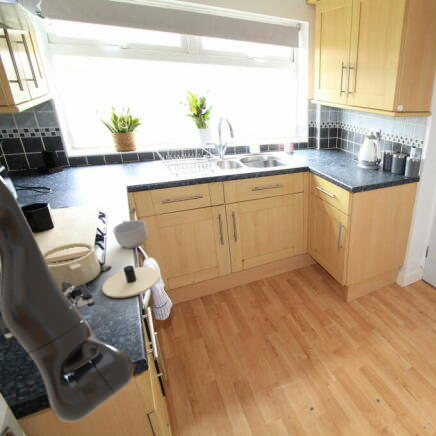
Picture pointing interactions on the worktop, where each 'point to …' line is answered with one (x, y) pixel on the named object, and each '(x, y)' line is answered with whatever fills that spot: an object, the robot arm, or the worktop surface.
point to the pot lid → (130, 282)
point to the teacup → (131, 233)
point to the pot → (74, 266)
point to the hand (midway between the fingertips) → (39, 294)
